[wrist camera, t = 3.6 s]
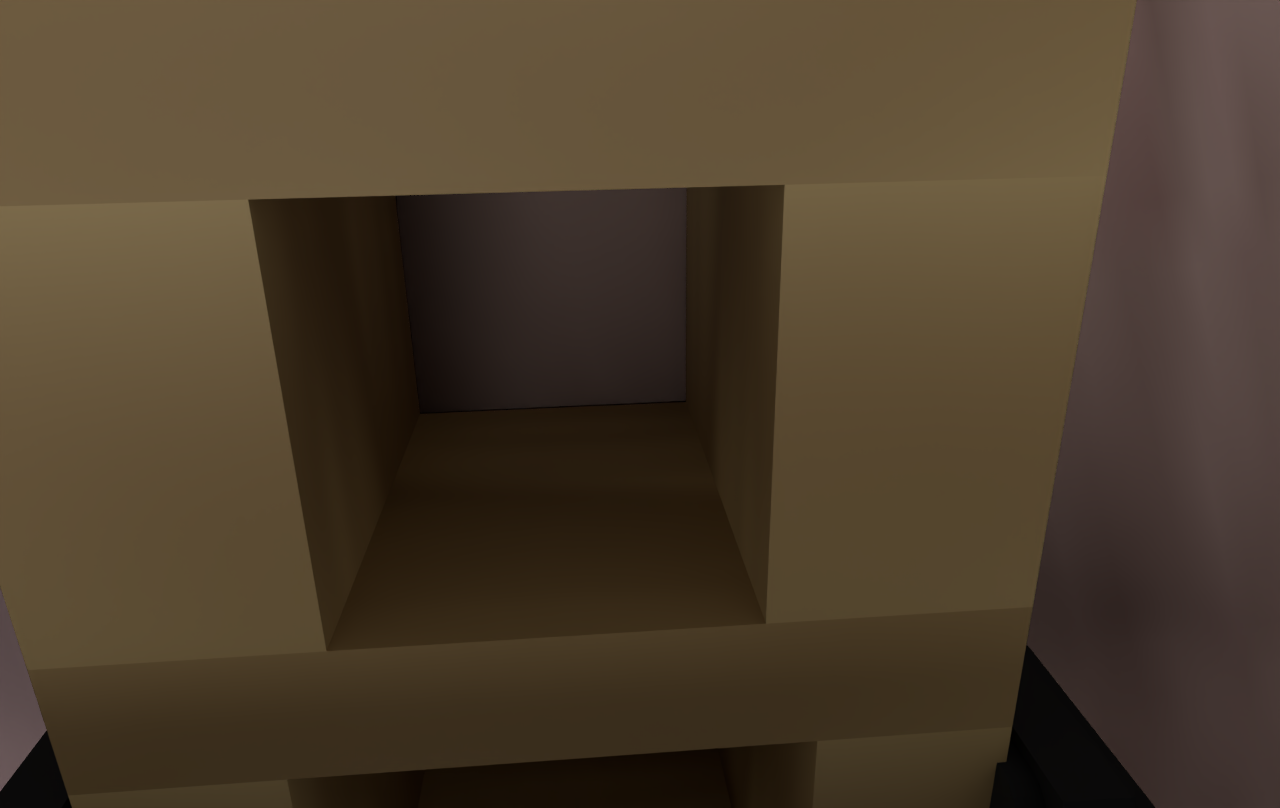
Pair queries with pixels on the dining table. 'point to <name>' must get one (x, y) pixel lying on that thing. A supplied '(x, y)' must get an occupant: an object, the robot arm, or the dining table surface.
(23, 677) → the dining table surface
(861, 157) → the tan slatted rectangular block
